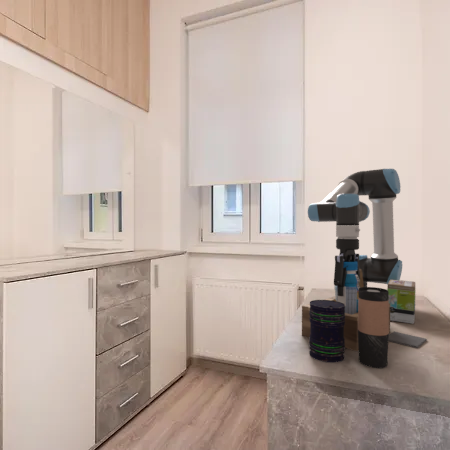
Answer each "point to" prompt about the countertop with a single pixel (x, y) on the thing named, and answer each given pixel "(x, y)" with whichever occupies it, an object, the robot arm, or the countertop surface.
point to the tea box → (402, 300)
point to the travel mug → (373, 326)
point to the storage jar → (327, 330)
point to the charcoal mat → (406, 339)
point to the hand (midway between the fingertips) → (347, 303)
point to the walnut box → (349, 326)
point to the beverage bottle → (351, 288)
